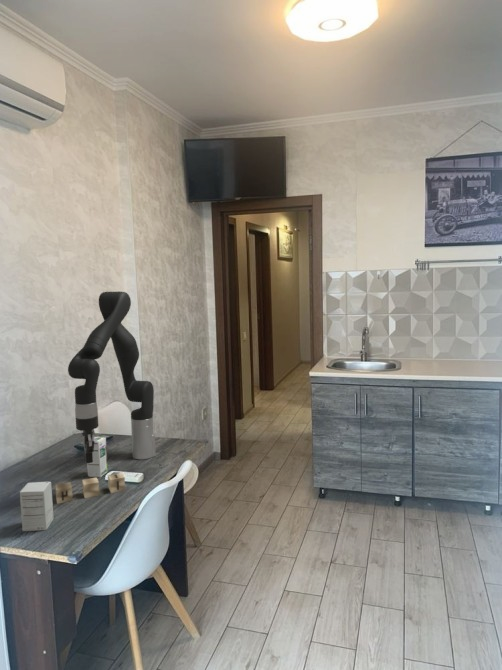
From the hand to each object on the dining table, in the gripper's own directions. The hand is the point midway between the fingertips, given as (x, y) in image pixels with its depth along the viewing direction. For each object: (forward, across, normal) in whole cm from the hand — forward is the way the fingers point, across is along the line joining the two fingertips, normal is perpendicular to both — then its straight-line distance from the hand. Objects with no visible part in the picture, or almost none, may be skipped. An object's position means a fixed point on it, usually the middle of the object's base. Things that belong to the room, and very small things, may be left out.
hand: (89, 462), depth 173 cm
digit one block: (+12, -1, -9) cm, 15 cm away
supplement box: (+12, -17, +18) cm, 27 cm away
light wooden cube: (+12, -1, +9) cm, 15 cm away
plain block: (+12, -1, 0) cm, 12 cm away
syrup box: (+12, +17, -5) cm, 22 cm away
